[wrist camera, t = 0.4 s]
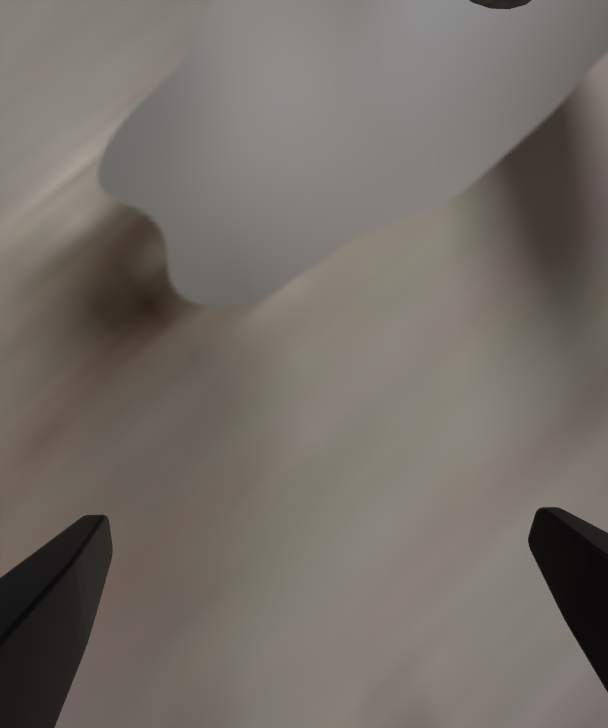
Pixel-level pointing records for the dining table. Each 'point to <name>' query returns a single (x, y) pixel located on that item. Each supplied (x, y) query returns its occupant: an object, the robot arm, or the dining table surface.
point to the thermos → (501, 3)
